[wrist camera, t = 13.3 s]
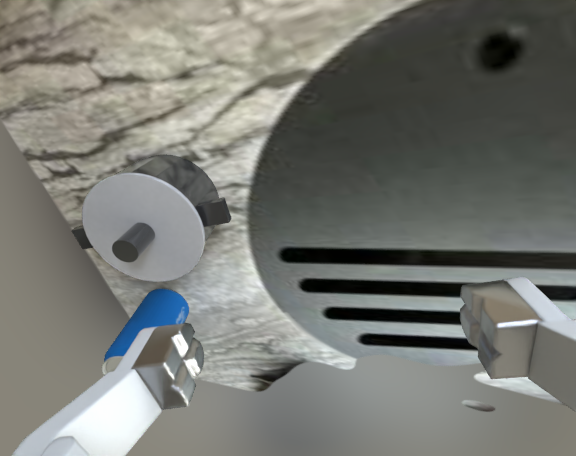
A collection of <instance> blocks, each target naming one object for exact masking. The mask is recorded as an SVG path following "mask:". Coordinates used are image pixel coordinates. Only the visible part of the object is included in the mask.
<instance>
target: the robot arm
mask: <svg viewBox="0 0 576 456" xmlns="http://www.w3.org/2000/svg"><path fill="white" fill-rule="evenodd" d="M461 299H462V300H463V302H464V303H465V304H464V305H463V307H462V308H461V309H460V319H461V324H462V328H463V331H464V333H465V335H466V337H467V339H468V341H469V343H470V344H472V345H474V346H475V347H477V348H478V358H479V360H480V361H481V363H482V365H483V366H484V368H485V370H486V371H487V373H488V375H489V376H490V378H491V379H500V378H515V377H528V379H530V380H531V381H532V382H534V383H535V384H537V385H538V386H539V387H541V388H542V389H544V390H545V391H546V392H548V393H549V394H551V395H552V396H554V397H555V398H556V399H558V400H559V401H561V402H562V403H563V404H565V405H566V406H568V407H569V408H570V409H572V410H573V411H575V412H576V319H569V318H568V317H567V316H566V315H565V314H564V313H563V312H562V311H561V310H560V309H559V308H558V307H557V306H556V305H555V304H554V303H552V302H551V301H550V300H549V299H548V298H547V297H546V296H545V295H544V294H543V293H542V292H541V291H540V290H539V289H538V288H537V287H536V286H535V285H534V284H532V283H531V282H530V281H529V280H528V279H527V278H525V277H516V278H510V279H503V280H498V281H491V282H484V283H477V284H470V285H463V286H462V288H461ZM194 333H195V331H194V329H193V327H192V326H191V324H188V323H183V324H174V325H165V326H158V327H149V328H144V329H142V330H141V331H140V332H139V333H138V335H137V337H136V338H135V340H134V341H133V343H132V344H131V346H130V347H129V349H128V350H127V352H126V354H125V355H124V357H123V358H122V360H121V361H120V363H119V364H118V366H117V368H116V369H115V371H113V372H109V373H107V374H106V375H105V376H104V377H102V378H101V379H100V380H99V381H97V382H96V383H95V384H93V385H92V386H91V387H90V388H88V389H87V390H86V391H84V392H83V393H82V394H81V395H79V396H78V397H77V398H76V399H74V400H73V401H72V402H70V403H69V404H68V405H67V406H65V407H64V408H63V409H61V410H60V411H59V412H57V413H56V414H55V415H54V416H52V417H51V418H50V419H49V420H47V421H46V422H45V423H44V424H42V425H41V426H40V427H38V428H37V429H36V430H34V431H33V432H32V433H31V434H30V435H28V436H27V437H25V438H24V440H23V441H22V442H21V444H20V445H19V446H18V448H17V449H16V450H15V451H14V453H13V454H12V455H11V456H125V455H126V454H127V453H128V452H129V450H130V449H131V448H132V447H133V446H134V444H135V443H136V442H137V441H138V440H139V439H140V437H141V436H142V435H143V434H144V433H145V431H146V430H147V429H148V428H149V427H150V425H151V424H152V423H153V422H154V421H155V420H156V418H157V417H158V416H159V415H160V414H161V412H162V410H164V409H171V408H180V407H187V406H189V404H190V401H191V398H192V396H193V393H194V390H195V387H196V384H195V382H194V379H195V378H196V377H197V376H198V375H199V374H200V373H201V370H202V367H203V362H204V352H203V347H202V345H201V343H200V342H199V341H198V340H196V339H195V338H193V335H194Z"/></svg>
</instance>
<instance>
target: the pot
mask: <svg viewBox="0 0 576 456" xmlns="http://www.w3.org/2000/svg"><path fill="white" fill-rule="evenodd" d="M120 173H141V174H146V175H150V176H153V177H156V178H158V179H161V180H163V181H165V182H167V183H168V184H170V185H172V186H173V187H175V188H176V189H177V190H179V191H180V192H181V193H182V194H183V195H184V196H185V197H186V198H187V199H188V200H189V201H190V202H191V203H192V205H193V206H194V207H195V209H196V211H197V212H198V214H199V216H200V218H201V221H202V224H203V227H204V232H205V242H206V241H207V239H208V237H209V235H210V234H211V232H212V230H213V229H214V227H215V225H218V224H224V223H229V222H230V220H231V216H230V213H229V210H228V207H227V204H226V201H225V198H219V196H218V193H217V190H216V188H215V186H214V184H213V182H212V181H211V180H210V178H209V177H208V176H207V175H206V173H205V172H204V171H203V170H201V169H200V168H199V167H198V166H196V165H195V164H193V163H192V162H190V161H188V160H186V159H183V158H181V157H177V156H173V155H155V156H151V157H148V158H144V159H141V160H140V161H138V162H136V163H134V164H132V165H131V166H129V167H127V168H125V169H124V170H122V171H120V172H118V173H116V174H120ZM72 233H73V234H74V236H75V237H76V239H77V241H78V242H79V244H80V246H81V247H82V249H87V248H93V246H92V245H91V243H90V241H89V239H88V237H87V235H86V233H85V230H84V226H83V225H82V226H77V227H76V228H74V229H73V230H72Z"/></svg>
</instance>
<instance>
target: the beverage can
mask: <svg viewBox="0 0 576 456" xmlns="http://www.w3.org/2000/svg"><path fill="white" fill-rule="evenodd" d="M188 313H189V306H188V303H187V302H186V300H185V299H184V298H183V297H182V296H181V295H180V294H178V293H177V292H175V291H172V290H169V289H155V290H153V291H151V292H149V293H148V294H147V296H146V297H145V298H144V300H143V301H142V303H141V304H140V305H139V307H138V308H137V310H136V311H135V313H134V314H133V315H132V317H131V318H130V320H129V321H128V323H127V324H126V325H125V327H124V328H123V330H122V331H121V332H120V334H119V335H118V337H117V338H116V340H115V341H114V343H113V344H112V345H111V347H110V348H109V349H108V351H107V352H106V354H105V359H104V363H103V366H102V372H103V374H104V376H105V375H106V374H107V373H109V372H113V371H115V369H116V368H117V366H118V364H119V363H120V361H121V360H122V358H123V357H124V355H125V354H126V352H127V350H128V349H129V347H130V346H131V344H132V343H133V341H134V340H135V338H136V337H137V335H138V333H139V332H140V331H141V330H142V329H144V328H149V327H158V326H165V325H174V324H183V323H184V322H185V320H186V318H187V316H188Z"/></svg>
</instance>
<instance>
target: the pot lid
mask: <svg viewBox="0 0 576 456" xmlns="http://www.w3.org/2000/svg"><path fill="white" fill-rule="evenodd" d="M82 221H83V226H84V230H85V233H86V235H87V237H88V239H89V241H90V243H91V245H92V246H93V248H94V249H95V250H96V252H97V253H98V254H99V255H100V256H101V257H102V258H103V259H104V260H105V261H106V262H107V263H109V264H110V265H111V266H113V267H114V268H116V269H117V270H119V271H120V272H122V273H124V274H126V275H129V276H131V277H134V278H137V279H140V280H145V281H152V282H164V281H170V280H174V279H177V278H180V277H182V276H184V275H186V274H187V273H188V272H190V271H191V270H192V269H193V268H194V267H195V266H196V265H197V263H198V262H199V260H200V258H201V256H202V254H203V251H204V246H205V232H204V227H203V224H202V221H201V218H200V216H199V214H198V212H197V211H196V209H195V207H194V206H193V205H192V203H191V202H190V201H189V200H188V199H187V198H186V197H185V196H184V195H183V194H182V193H181V192H180V191H179V190H177V189H176V188H175V187H173V186H172V185H170V184H168V183H167V182H165V181H163V180H161V179H158V178H156V177H153V176H150V175H146V174H141V173H120V174H115V175H112V176H109V177H107V178H105V179H103V180H101V181H100V182H98V183H97V184H96V185H95V186H94V187H93V188H92V189H91V190H90V191H89V193H88V194H87V196H86V198H85V200H84V204H83V208H82Z"/></svg>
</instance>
